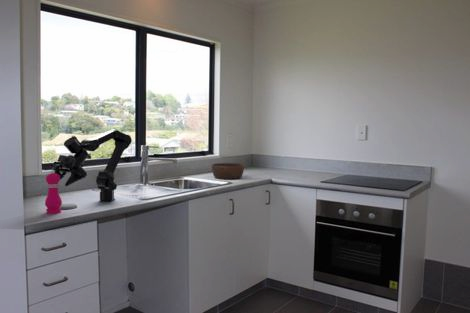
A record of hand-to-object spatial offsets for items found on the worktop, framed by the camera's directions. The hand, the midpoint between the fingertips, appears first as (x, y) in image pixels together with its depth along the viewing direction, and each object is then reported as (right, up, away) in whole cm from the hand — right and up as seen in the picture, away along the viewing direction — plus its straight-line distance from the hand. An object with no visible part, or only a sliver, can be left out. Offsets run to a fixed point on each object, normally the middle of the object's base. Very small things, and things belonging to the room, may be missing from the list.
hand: (59, 184), depth 193 cm
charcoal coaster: (0, -12, +9) cm, 15 cm away
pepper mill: (-2, -13, -2) cm, 13 cm away
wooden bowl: (+77, -3, +123) cm, 145 cm away
